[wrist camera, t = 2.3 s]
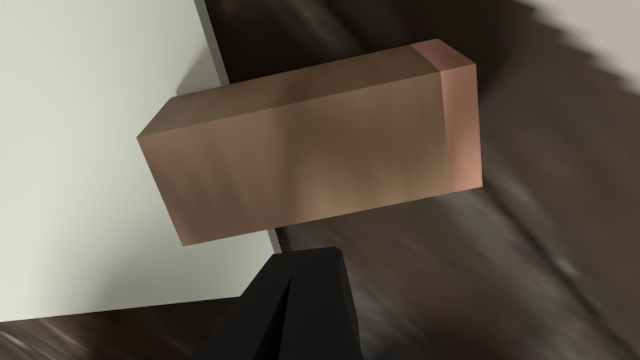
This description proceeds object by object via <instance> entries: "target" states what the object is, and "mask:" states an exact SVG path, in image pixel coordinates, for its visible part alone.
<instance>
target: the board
mask: <svg viewBox="0 0 640 360" xmlns="http://www.w3.org/2000/svg"><path fill="white" fill-rule="evenodd" d="M229 84H230V83H229V80H228V76H227V73H226V70H225V67H224V63H223V60H222V57H221V54H220V51H219V47H218V44H217V41H216V38H215V34H214V31H213V28H212V25H211V21H210V18H209V15H208V12H207V9H206V5H205V2H204V0H0V322H4V321H13V320H22V319H32V318H41V317H50V316H60V315H69V314H78V313H88V312H97V311H107V310H116V309H125V308H135V307H144V306H153V305H163V304H172V303H181V302H191V301H200V300H210V299H219V298H228V297H238V296H241V294H242V293H243V292H244V290H245V289H246V288H247V286H248V285H249V284H250V282H251V281H252V280H253V279H254V277H255V276H256V275H257V273H258V272H259V271H260V269H261V268H262V267H263V266H264V264H265V263H266V262H267V260H268V259H269V258H270V257H271V255H272V254H277V253H282V251H281V248H280V244H279V241H278V238H277V235H276V232H275V228H273V229H268V230H263V231H258V232H253V233H248V234H243V235H238V236H233V237H229V238H224V239H219V240H214V241H209V242H204V243H199V244H194V245H189V246H184V247H183V246H182V244H181V241H180V239H179V237H178V234H177V232H176V230H175V227H174V225H173V223H172V220H171V218H170V216H169V213H168V211H167V209H166V206H165V204H164V202H163V199H162V197H161V195H160V192H159V190H158V188H157V185H156V183H155V181H154V178H153V176H152V173H151V171H150V169H149V166H148V164H147V162H146V159H145V157H144V155H143V152H142V150H141V148H140V145H139V143H138V141H137V138H136V137H137V136H138V135H139V134H140V133H141V131H142V130H143V129H144V128H145V127H146V126H147V124H148V123H149V122H150V121H151V120H152V119H153V117H154V116H155V115H156V114H157V113H158V112H159V110H160V109H161V108H162V107H163V106H164V105H165V103H166V102H167V101H168V100H169V99H170V98H171V97H175V96H180V95H184V94H189V93H193V92H198V91H202V90H207V89H211V88H216V87H220V86H225V85H229Z"/></svg>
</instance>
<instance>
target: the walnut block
mask: <svg viewBox="0 0 640 360" xmlns="http://www.w3.org/2000/svg"><path fill="white" fill-rule="evenodd" d="M136 138H137V141H138V143H139V145H140V148H141V150H142V152H143V155H144V157H145V159H146V162H147V164H148V166H149V169H150V171H151V173H152V176H153V178H154V181H155V183H156V185H157V188H158V190H159V192H160V195H161V197H162V199H163V202H164V204H165V206H166V209H167V211H168V213H169V216H170V218H171V220H172V223H173V225H174V227H175V230H176V232H177V234H178V237H179V239H180V241H181V244H182V246H183V247H184V246H189V245H194V244H199V243H204V242H209V241H214V240H219V239H224V238H229V237H233V236H238V235H243V234H248V233H253V232H258V231H263V230H268V229H273V228H278V227H283V226H288V225H293V224H298V223H303V222H308V221H313V220H318V219H323V218H328V217H333V216H338V215H343V214H348V213H353V212H358V211H363V210H368V209H373V208H378V207H383V206H388V205H393V204H398V203H403V202H408V201H413V200H418V199H423V198H428V197H433V196H438V195H443V194H447V193H452V192H457V191H462V190H467V189H472V188H477V187H482V170H481V151H480V132H479V113H478V94H477V75H476V63H474V62H473V61H471V60H470V59H468V58H467V57H465V56H463V55H462V54H460V53H459V52H457V51H456V50H454V49H453V48H451V47H450V46H448V45H447V44H445V43H444V42H442V41H441V40H439V39H438V38H437V39H432V40H428V41H423V42H419V43H414V44H410V45H405V46H401V47H396V48H392V49H387V50H383V51H378V52H374V53H369V54H365V55H360V56H356V57H351V58H347V59H342V60H338V61H333V62H329V63H324V64H320V65H315V66H311V67H306V68H302V69H297V70H293V71H288V72H284V73H279V74H275V75H270V76H266V77H261V78H257V79H252V80H248V81H243V82H238V83H234V84H229V85H225V86H220V87H216V88H211V89H207V90H202V91H198V92H193V93H189V94H184V95H180V96H175V97H171V98H170V99H169V100H168V101H167V102H166V103H165V105H164V106H163V107H162V108H161V109H160V110H159V112H158V113H157V114H156V115H155V116H154V117H153V119H152V120H151V121H150V122H149V123H148V124H147V126H146V127H145V128H144V129H143V130H142V131H141V133H140V134H139V135H138V136H137V137H136Z"/></svg>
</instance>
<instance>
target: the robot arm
mask: <svg viewBox="0 0 640 360" xmlns="http://www.w3.org/2000/svg"><path fill="white" fill-rule="evenodd" d="M189 360H364V359H363V356H362V354H361V348H360V339H359V326H358V319H357V314H356V310H355V306H354V302H353V297H352V293H351V289H350V284H349V280H348V276H347V272H346V267H345V263H344V259H343V255H342V251H341V250H339V249H338V248H336V247H335V246H334V247H326V248H318V249H309V250H301V251H293V252H285V253H277V254H272V255H271V257H270V258H269V259H268V260H267V262H266V263H265V264H264V266H263V267H262V268H261V269H260V271H259V272H258V273H257V275H256V276H255V277H254V279H253V280H252V281H251V282H250V284H249V285H248V286H247V288H246V289H245V290H244V292H243V293H242V294H241V296H240V297H239V298H238V300H237V301H236V302H235V304H234V305H233V306H232V307H231V309H230V310H229V311H228V312H227V314H226V315H225V316H224V318H223V319H222V320H221V321H220V323H219V324H218V325H217V326H216V328H215V329H214V330H213V331H212V333H211V334H210V335H209V336H208V338H207V339H206V340H205V341H204V342H203V344H202V345H201V346H200V347H199V348H198V349H197V351H196V352H195V353H194V354H193V355H192V356H191V357H190V359H189Z"/></svg>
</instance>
